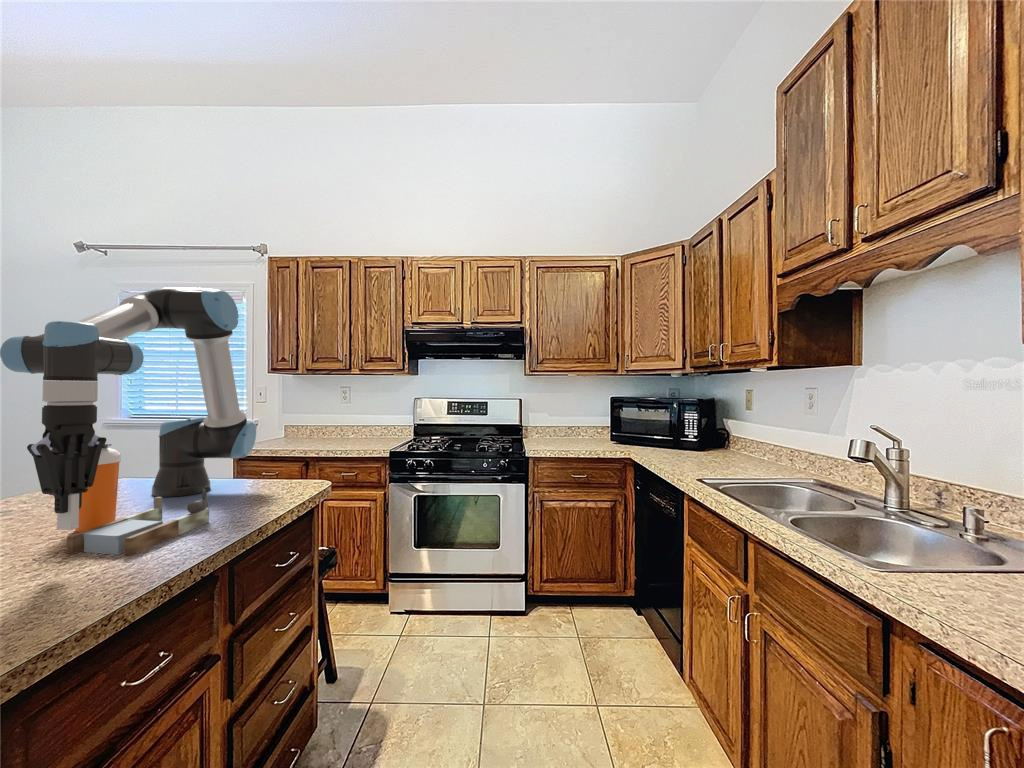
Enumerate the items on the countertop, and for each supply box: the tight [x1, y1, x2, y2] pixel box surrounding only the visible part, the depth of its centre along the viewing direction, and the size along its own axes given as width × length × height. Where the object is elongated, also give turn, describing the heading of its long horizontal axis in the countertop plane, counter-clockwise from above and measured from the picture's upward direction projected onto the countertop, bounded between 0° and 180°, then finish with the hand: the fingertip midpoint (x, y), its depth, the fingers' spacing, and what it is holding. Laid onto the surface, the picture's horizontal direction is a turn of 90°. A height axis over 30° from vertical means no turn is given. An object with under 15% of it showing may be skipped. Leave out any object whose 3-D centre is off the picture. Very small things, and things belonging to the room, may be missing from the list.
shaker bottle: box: [74, 443, 122, 533], centre depth 109 cm, size 9×9×20 cm
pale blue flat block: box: [83, 519, 164, 555], centre depth 99 cm, size 10×8×4 cm
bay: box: [66, 486, 211, 557], centre depth 104 cm, size 23×14×9 cm, turn 178°
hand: (67, 528), depth 86 cm, fingers closed
